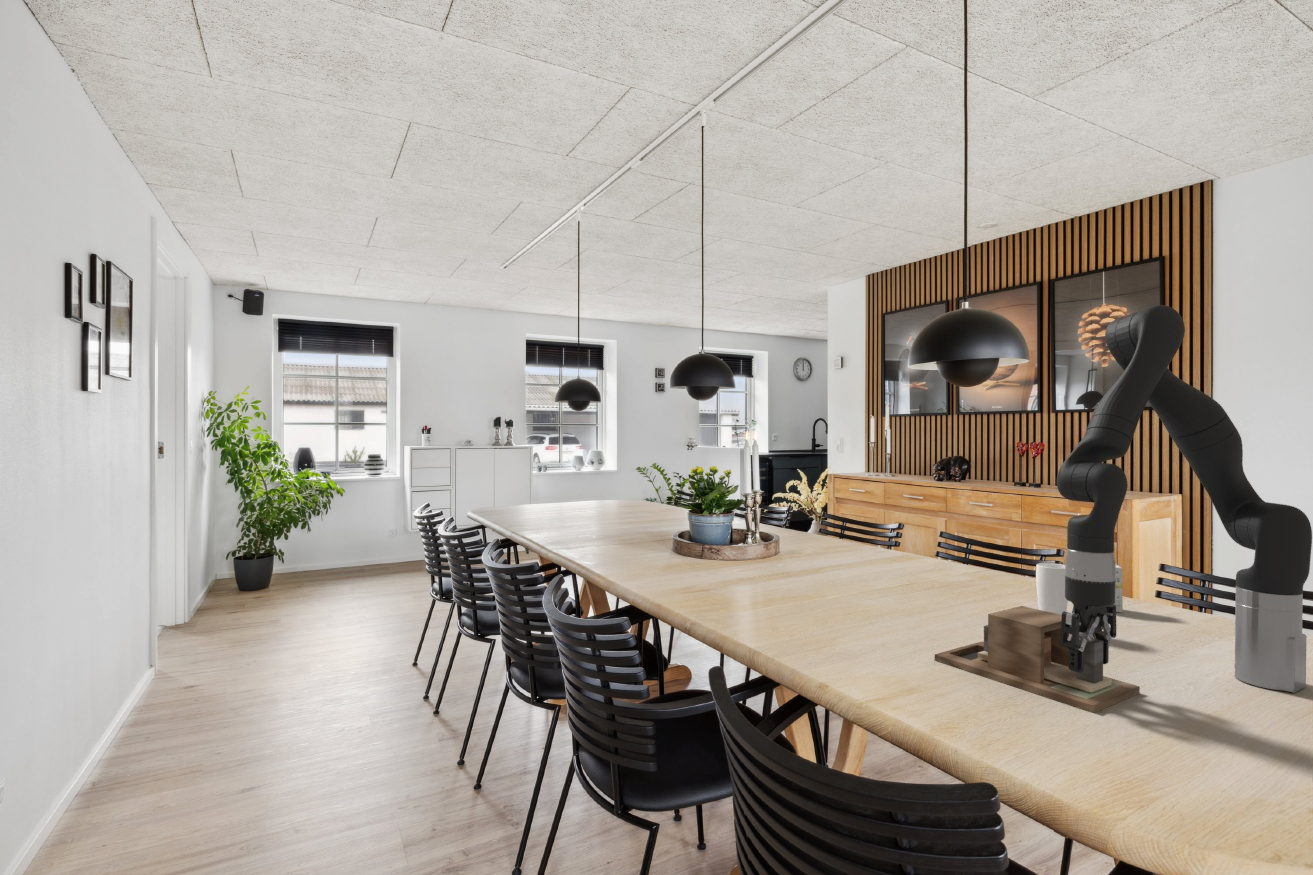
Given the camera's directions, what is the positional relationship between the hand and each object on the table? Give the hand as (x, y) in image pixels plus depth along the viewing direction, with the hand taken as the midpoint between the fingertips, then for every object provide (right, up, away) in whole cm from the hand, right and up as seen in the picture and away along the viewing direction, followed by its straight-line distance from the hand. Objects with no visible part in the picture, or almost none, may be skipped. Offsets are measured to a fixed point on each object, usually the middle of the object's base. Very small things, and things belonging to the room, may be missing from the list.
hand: (1088, 666), depth 120 cm
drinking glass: (+16, -5, +39) cm, 42 cm away
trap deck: (-5, -5, +9) cm, 11 cm away
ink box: (+39, -4, +57) cm, 69 cm away
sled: (-4, -3, +7) cm, 9 cm away
